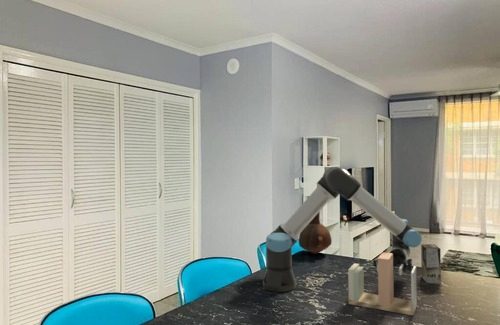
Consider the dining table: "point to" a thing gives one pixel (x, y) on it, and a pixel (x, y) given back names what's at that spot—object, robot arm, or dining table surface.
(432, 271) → the coffee box
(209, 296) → the dining table surface
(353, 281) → the books
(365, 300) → the board
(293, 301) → the dining table surface
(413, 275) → the grey flat panel
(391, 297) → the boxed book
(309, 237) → the vase
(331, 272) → the dining table surface
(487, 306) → the dining table surface
